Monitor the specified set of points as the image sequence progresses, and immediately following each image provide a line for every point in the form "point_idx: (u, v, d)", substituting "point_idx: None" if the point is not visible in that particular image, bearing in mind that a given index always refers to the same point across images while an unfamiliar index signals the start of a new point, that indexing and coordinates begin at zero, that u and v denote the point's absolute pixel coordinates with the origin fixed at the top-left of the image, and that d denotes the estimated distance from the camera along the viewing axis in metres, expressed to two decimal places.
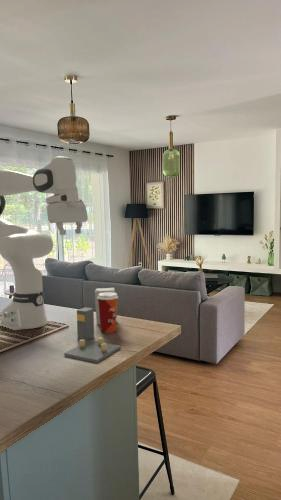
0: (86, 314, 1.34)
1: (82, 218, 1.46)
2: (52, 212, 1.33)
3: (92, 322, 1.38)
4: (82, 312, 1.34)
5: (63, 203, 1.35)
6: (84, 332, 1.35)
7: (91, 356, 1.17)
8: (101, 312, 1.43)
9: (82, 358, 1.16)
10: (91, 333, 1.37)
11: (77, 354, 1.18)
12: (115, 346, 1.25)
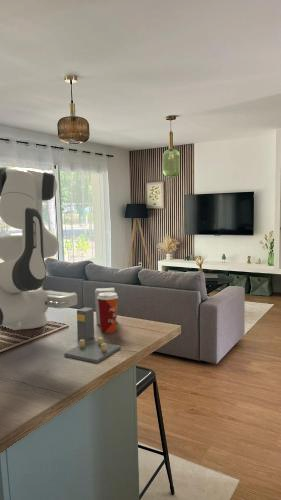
0: (86, 314, 1.34)
1: None
2: None
3: (92, 322, 1.38)
4: (82, 312, 1.34)
5: None
6: (84, 332, 1.35)
7: (91, 356, 1.17)
8: (101, 312, 1.43)
9: (82, 358, 1.16)
10: (91, 333, 1.37)
11: (77, 354, 1.18)
12: (115, 346, 1.25)
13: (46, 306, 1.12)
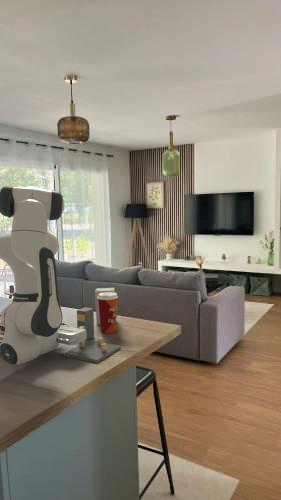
0: (86, 314, 1.34)
1: None
2: None
3: (92, 322, 1.38)
4: (82, 312, 1.34)
5: None
6: None
7: (91, 356, 1.17)
8: (101, 312, 1.43)
9: (82, 358, 1.16)
10: (91, 333, 1.37)
11: (77, 354, 1.18)
12: (115, 346, 1.25)
13: (57, 342, 1.17)
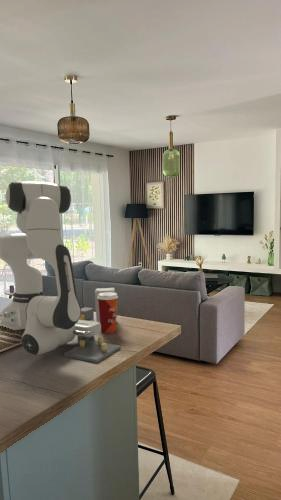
0: (86, 314, 1.34)
1: None
2: None
3: None
4: (82, 312, 1.34)
5: None
6: None
7: (91, 356, 1.17)
8: (101, 312, 1.43)
9: (82, 358, 1.16)
10: None
11: (77, 354, 1.18)
12: (115, 346, 1.25)
13: (74, 335, 1.25)
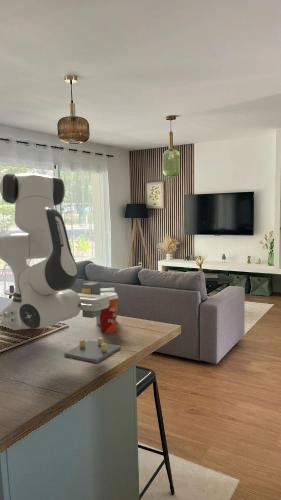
0: (92, 288, 1.20)
1: None
2: None
3: None
4: (88, 286, 1.20)
5: None
6: None
7: (91, 356, 1.17)
8: (101, 312, 1.43)
9: (82, 358, 1.16)
10: None
11: (77, 354, 1.18)
12: (115, 346, 1.25)
13: (79, 309, 1.10)
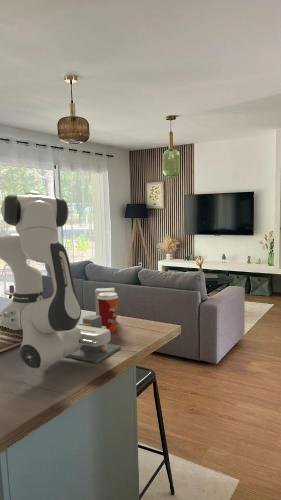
0: (93, 323, 1.19)
1: None
2: None
3: None
4: (89, 321, 1.19)
5: None
6: None
7: (91, 356, 1.17)
8: (101, 312, 1.43)
9: (82, 358, 1.16)
10: None
11: (77, 354, 1.18)
12: (115, 346, 1.25)
13: (80, 344, 1.10)
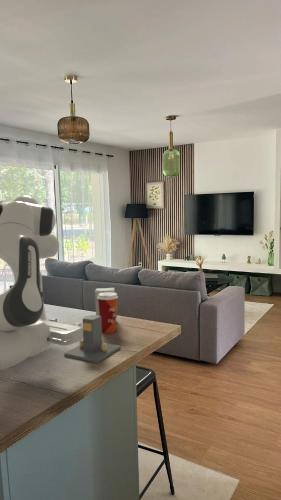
0: (93, 323, 1.19)
1: None
2: None
3: (100, 332, 1.23)
4: (89, 321, 1.19)
5: None
6: (91, 343, 1.20)
7: (91, 356, 1.17)
8: (101, 312, 1.43)
9: (82, 358, 1.16)
10: (98, 343, 1.22)
11: (77, 354, 1.18)
12: (115, 346, 1.25)
13: (48, 342, 1.00)
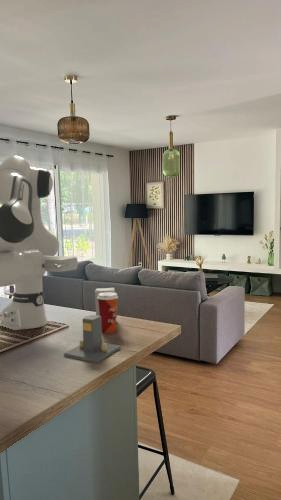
0: (93, 323, 1.19)
1: None
2: None
3: (100, 332, 1.23)
4: (89, 321, 1.19)
5: None
6: (91, 343, 1.20)
7: (91, 356, 1.17)
8: (101, 312, 1.43)
9: (82, 358, 1.16)
10: (98, 343, 1.22)
11: (77, 354, 1.18)
12: (115, 346, 1.25)
13: (43, 269, 1.02)
